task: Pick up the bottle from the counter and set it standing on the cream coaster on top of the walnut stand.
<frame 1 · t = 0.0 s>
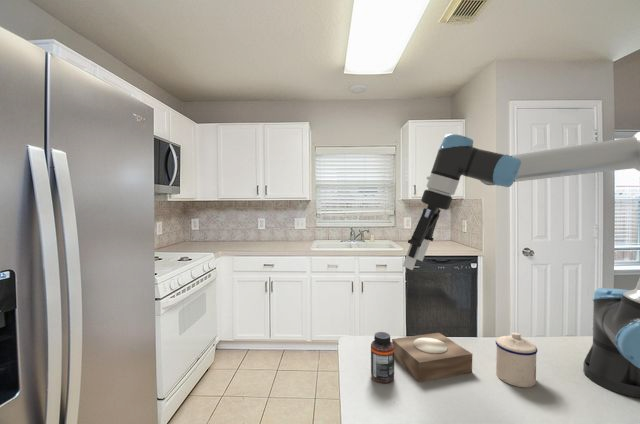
hand: (413, 263, 90), 28 cm above the countertop, tool tilted 20°, fingers open, 13 cm apart
supplement bottle: (382, 378, 81), on the countertop
cream ceramic oval pot: (512, 375, 82), on the countertop
walnut stand: (430, 363, 88), on the countertop
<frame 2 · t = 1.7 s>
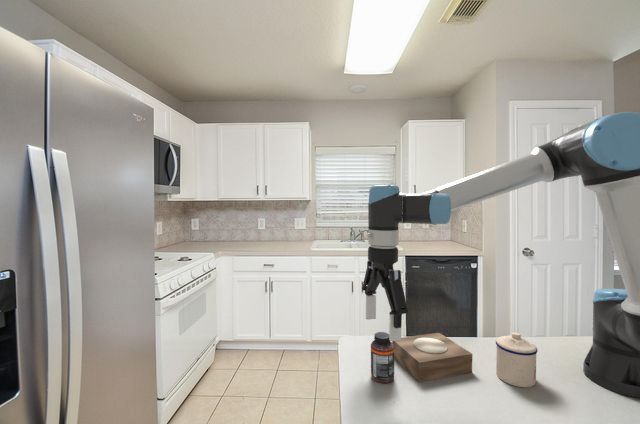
hand: (381, 328, 81), 13 cm above the countertop, tool pointing down, fingers open, 13 cm apart
nothing on the countertop moved.
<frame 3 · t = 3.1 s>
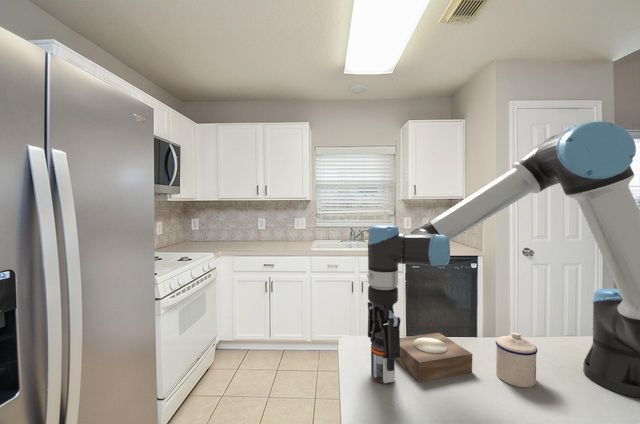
hand: (382, 374, 81), 1 cm above the countertop, tool pointing down, fingers closed on supplement bottle, 6 cm apart
supplement bottle: (382, 378, 81), on the countertop, touching gripper
everything else where it was.
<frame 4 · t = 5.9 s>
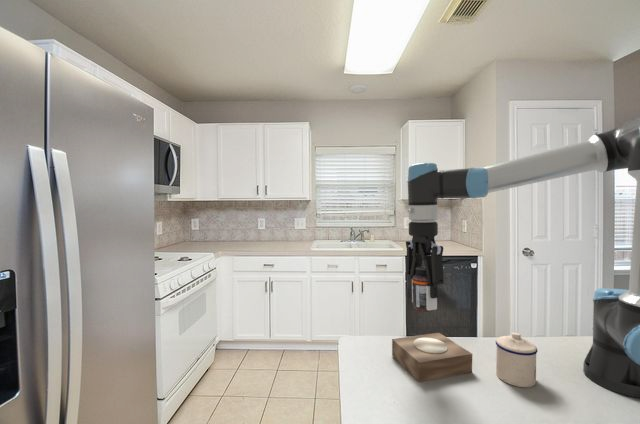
hand: (424, 305, 86), 17 cm above the countertop, tool pointing down, fingers closed on supplement bottle, 6 cm apart
supplement bottle: (424, 309, 86), point 16 cm above the countertop, touching gripper
everything else where it was.
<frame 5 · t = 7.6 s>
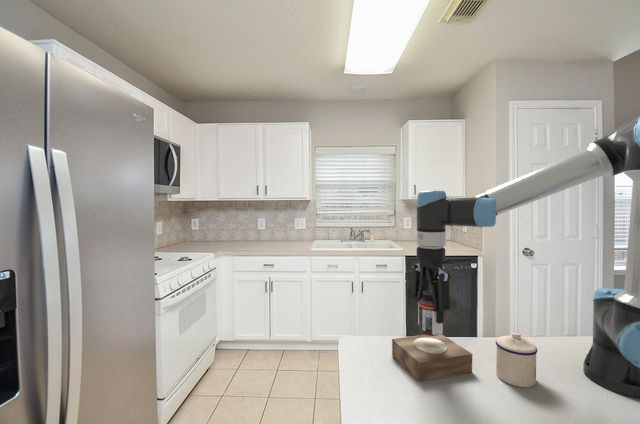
hand: (429, 328, 88), 10 cm above the countertop, tool pointing down, fingers closed on supplement bottle, 6 cm apart
supplement bottle: (430, 332, 88), point 9 cm above the countertop, touching gripper
everything else where it was.
when the fingers open (8 cm above the countertop, at t = 8.8 s): supplement bottle drops 1 cm, resting on walnut stand.
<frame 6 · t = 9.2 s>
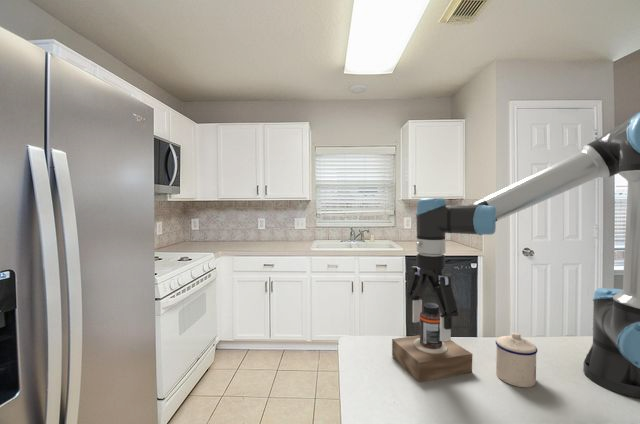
hand: (430, 330, 88), 9 cm above the countertop, tool pointing down, fingers open, 12 cm apart
supplement bottle: (430, 345, 88), point 5 cm above the countertop, touching walnut stand
everything else where it was.
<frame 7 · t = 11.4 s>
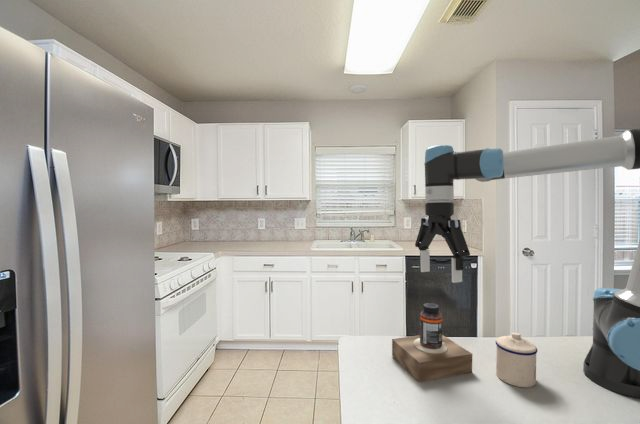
hand: (439, 276, 89), 24 cm above the countertop, tool pointing down, fingers open, 13 cm apart
nothing on the countertop moved.
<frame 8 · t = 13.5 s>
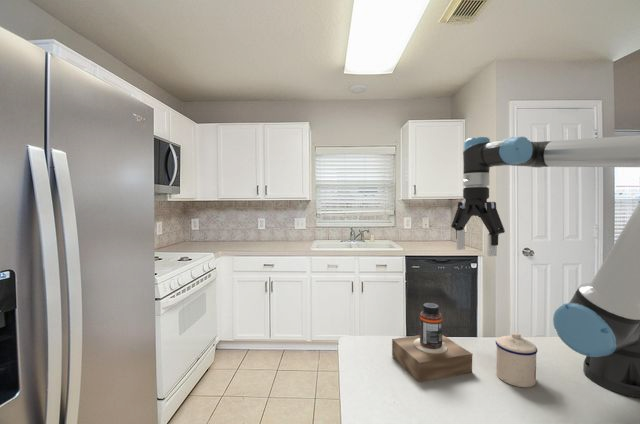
hand: (475, 252, 102), 29 cm above the countertop, tool pointing down, fingers open, 13 cm apart
nothing on the countertop moved.
at the end: supplement bottle inside the target area on the walnut stand (0.2 cm from its centre), point 5.2 cm above the walnut stand's base; supplement bottle tilted 0°; the gripper is holding nothing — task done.
